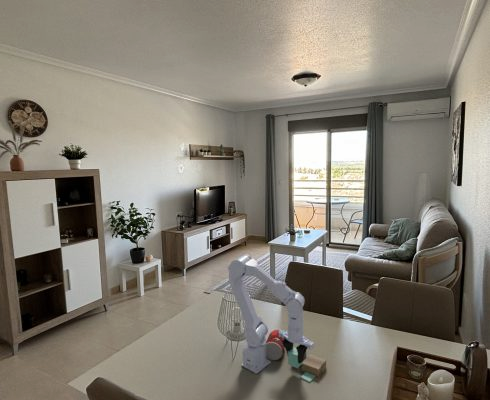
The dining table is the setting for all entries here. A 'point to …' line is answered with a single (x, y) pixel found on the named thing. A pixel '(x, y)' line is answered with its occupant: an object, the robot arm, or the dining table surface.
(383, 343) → the dining table surface
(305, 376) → the swatch
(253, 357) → the robot arm
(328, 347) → the dining table surface
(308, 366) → the walnut base
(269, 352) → the canned food
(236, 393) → the dining table surface
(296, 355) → the teal block
